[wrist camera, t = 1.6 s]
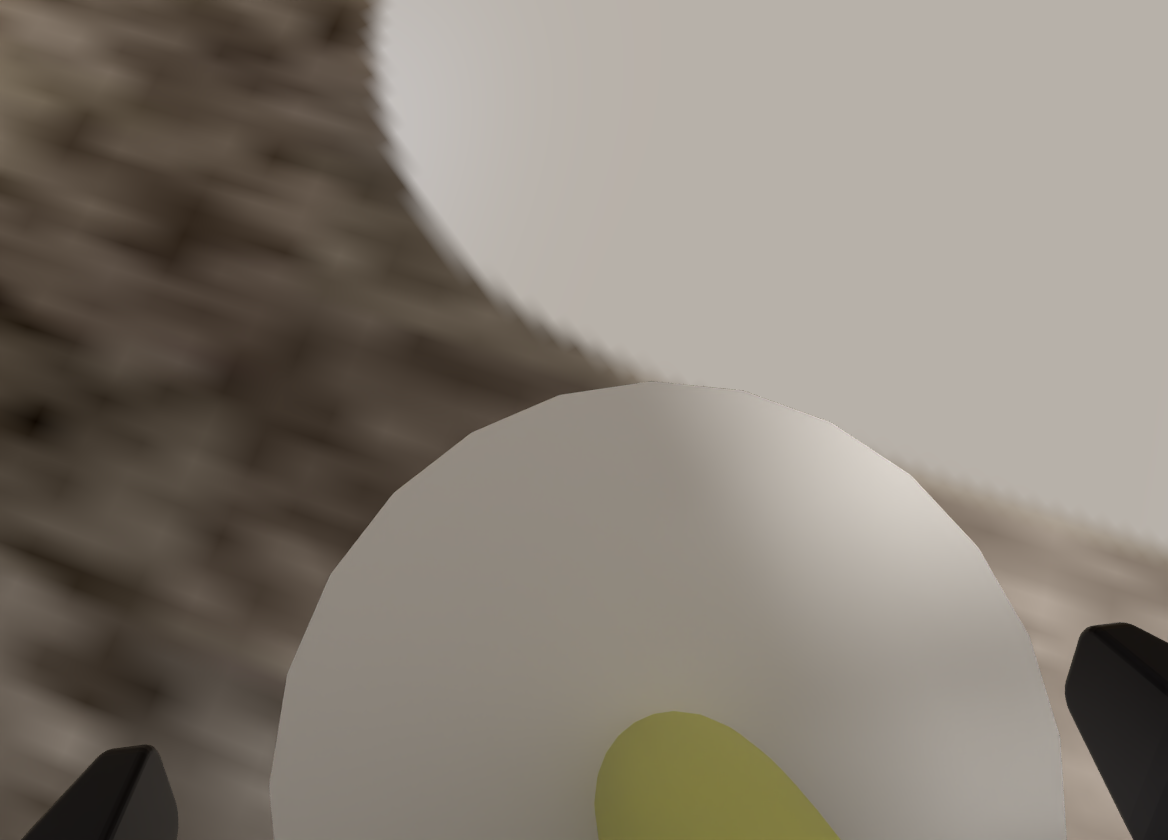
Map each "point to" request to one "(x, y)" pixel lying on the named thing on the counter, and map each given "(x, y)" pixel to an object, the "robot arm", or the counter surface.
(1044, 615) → the counter surface
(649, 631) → the candle
